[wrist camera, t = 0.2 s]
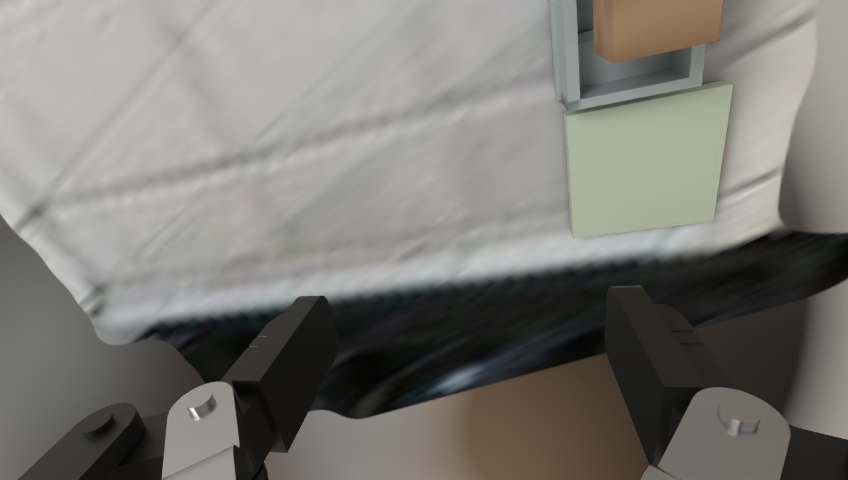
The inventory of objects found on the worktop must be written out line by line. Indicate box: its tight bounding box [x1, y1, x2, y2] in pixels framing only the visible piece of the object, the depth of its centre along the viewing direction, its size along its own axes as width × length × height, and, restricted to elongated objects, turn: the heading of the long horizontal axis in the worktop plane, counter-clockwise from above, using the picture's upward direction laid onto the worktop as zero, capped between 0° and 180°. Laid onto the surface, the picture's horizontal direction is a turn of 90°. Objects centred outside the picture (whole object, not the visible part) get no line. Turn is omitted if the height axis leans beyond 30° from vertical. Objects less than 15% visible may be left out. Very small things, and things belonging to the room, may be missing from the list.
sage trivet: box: [564, 80, 733, 239], centre depth 29 cm, size 10×10×1 cm
